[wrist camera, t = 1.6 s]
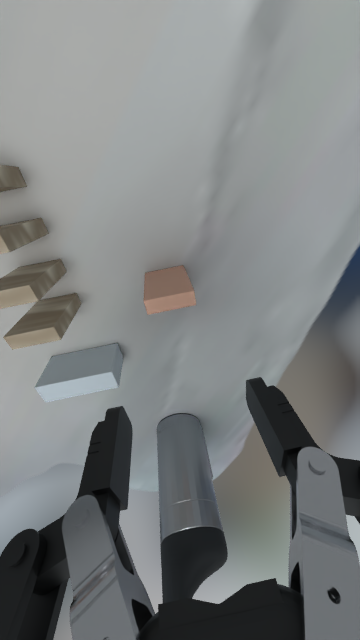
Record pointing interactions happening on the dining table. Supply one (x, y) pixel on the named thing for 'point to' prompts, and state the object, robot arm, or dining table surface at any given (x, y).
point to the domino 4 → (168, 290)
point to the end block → (81, 373)
